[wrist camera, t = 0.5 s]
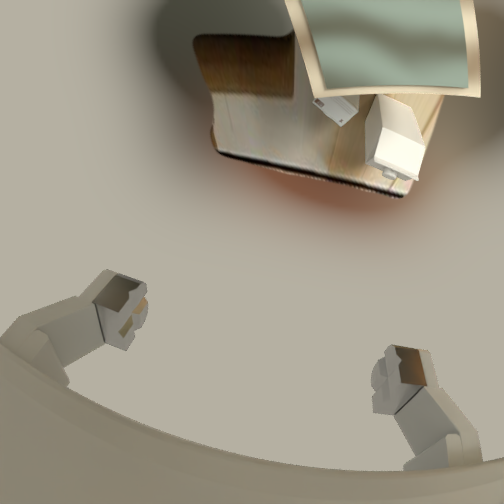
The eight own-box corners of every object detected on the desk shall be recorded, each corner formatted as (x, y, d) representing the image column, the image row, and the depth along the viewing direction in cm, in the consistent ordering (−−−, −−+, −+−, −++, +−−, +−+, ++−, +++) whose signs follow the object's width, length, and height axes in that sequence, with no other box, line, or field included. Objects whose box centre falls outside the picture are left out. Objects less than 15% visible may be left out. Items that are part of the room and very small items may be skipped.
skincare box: (361, 86, 45) (362, 111, 38) (345, 100, 48) (342, 129, 41) (335, 63, 43) (330, 84, 36) (319, 79, 47) (311, 103, 40)
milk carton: (377, 91, 45) (384, 140, 34) (411, 107, 44) (430, 162, 33) (364, 121, 50) (364, 179, 39) (397, 135, 50) (407, 197, 39)
